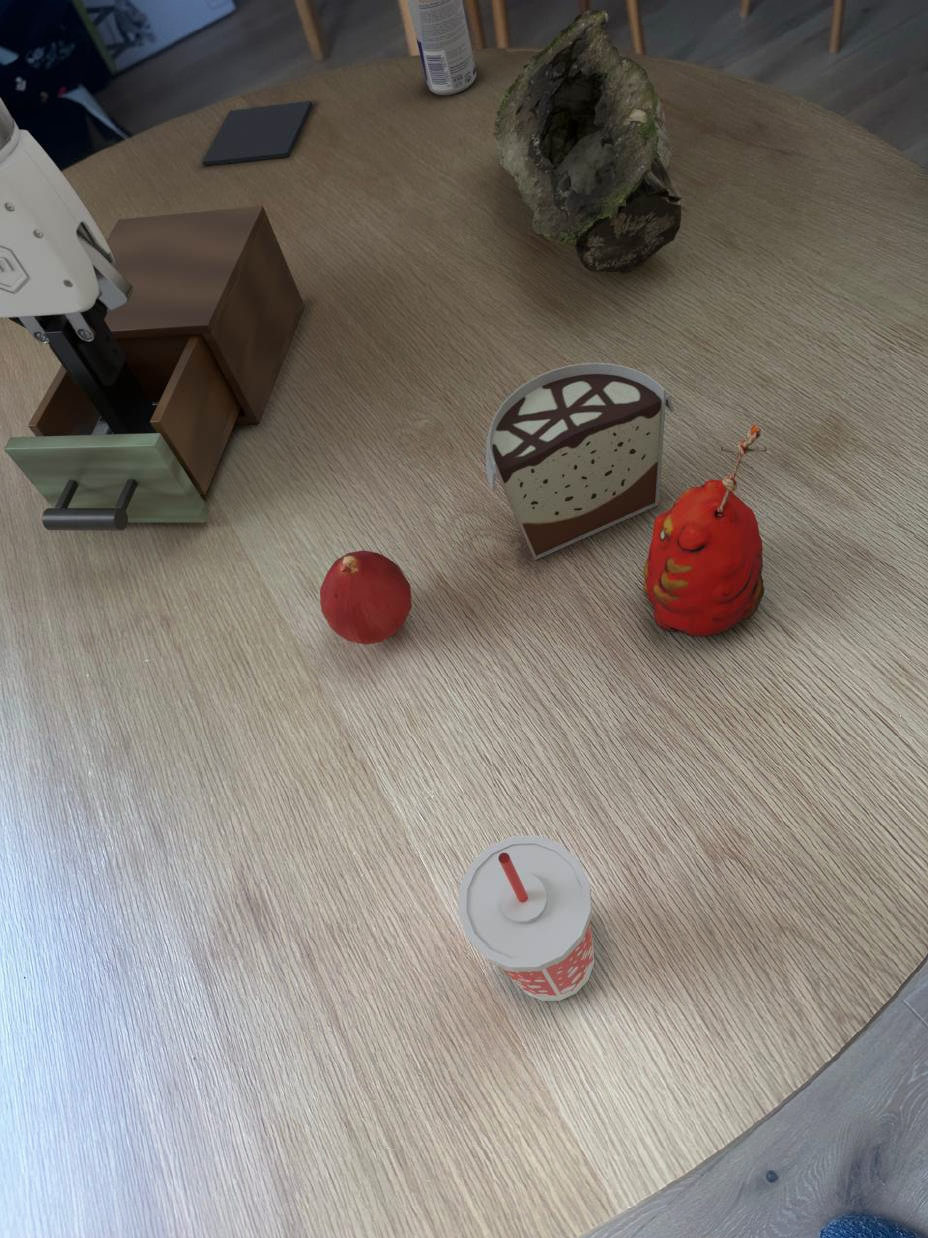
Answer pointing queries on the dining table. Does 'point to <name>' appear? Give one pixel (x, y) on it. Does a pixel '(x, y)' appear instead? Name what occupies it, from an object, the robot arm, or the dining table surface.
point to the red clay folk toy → (706, 557)
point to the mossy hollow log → (590, 149)
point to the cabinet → (211, 292)
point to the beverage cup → (530, 915)
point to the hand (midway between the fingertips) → (102, 371)
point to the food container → (578, 451)
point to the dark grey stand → (104, 387)
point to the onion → (365, 597)
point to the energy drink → (443, 44)
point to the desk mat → (258, 133)
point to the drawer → (132, 442)
